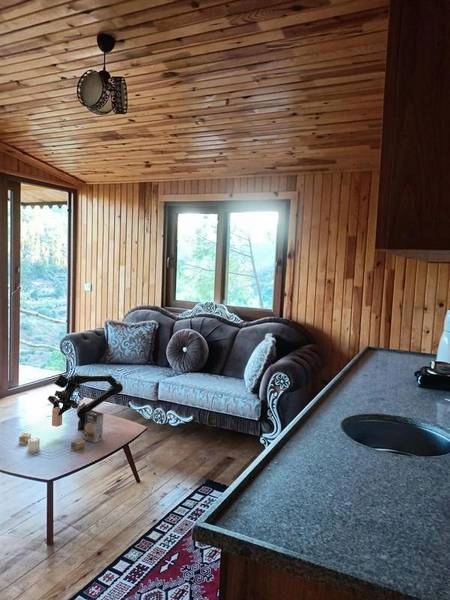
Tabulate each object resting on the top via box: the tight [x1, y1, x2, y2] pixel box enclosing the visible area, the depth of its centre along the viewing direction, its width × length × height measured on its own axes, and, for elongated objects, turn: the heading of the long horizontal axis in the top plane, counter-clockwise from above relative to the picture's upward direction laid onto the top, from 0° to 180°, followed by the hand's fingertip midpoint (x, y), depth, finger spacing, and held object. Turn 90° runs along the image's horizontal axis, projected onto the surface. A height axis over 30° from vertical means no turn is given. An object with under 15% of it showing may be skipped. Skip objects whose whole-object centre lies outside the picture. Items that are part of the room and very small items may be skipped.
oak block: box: [18, 432, 32, 445], centre depth 255 cm, size 5×5×4 cm
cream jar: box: [27, 437, 41, 454], centre depth 245 cm, size 6×6×6 cm
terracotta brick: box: [51, 407, 63, 428], centre depth 265 cm, size 4×4×11 cm
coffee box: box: [83, 409, 104, 443], centre depth 264 cm, size 9×6×16 cm
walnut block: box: [70, 439, 85, 453], centre depth 250 cm, size 5×5×4 cm
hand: (55, 414), depth 263 cm, fingers closed on terracotta brick, 4 cm apart
